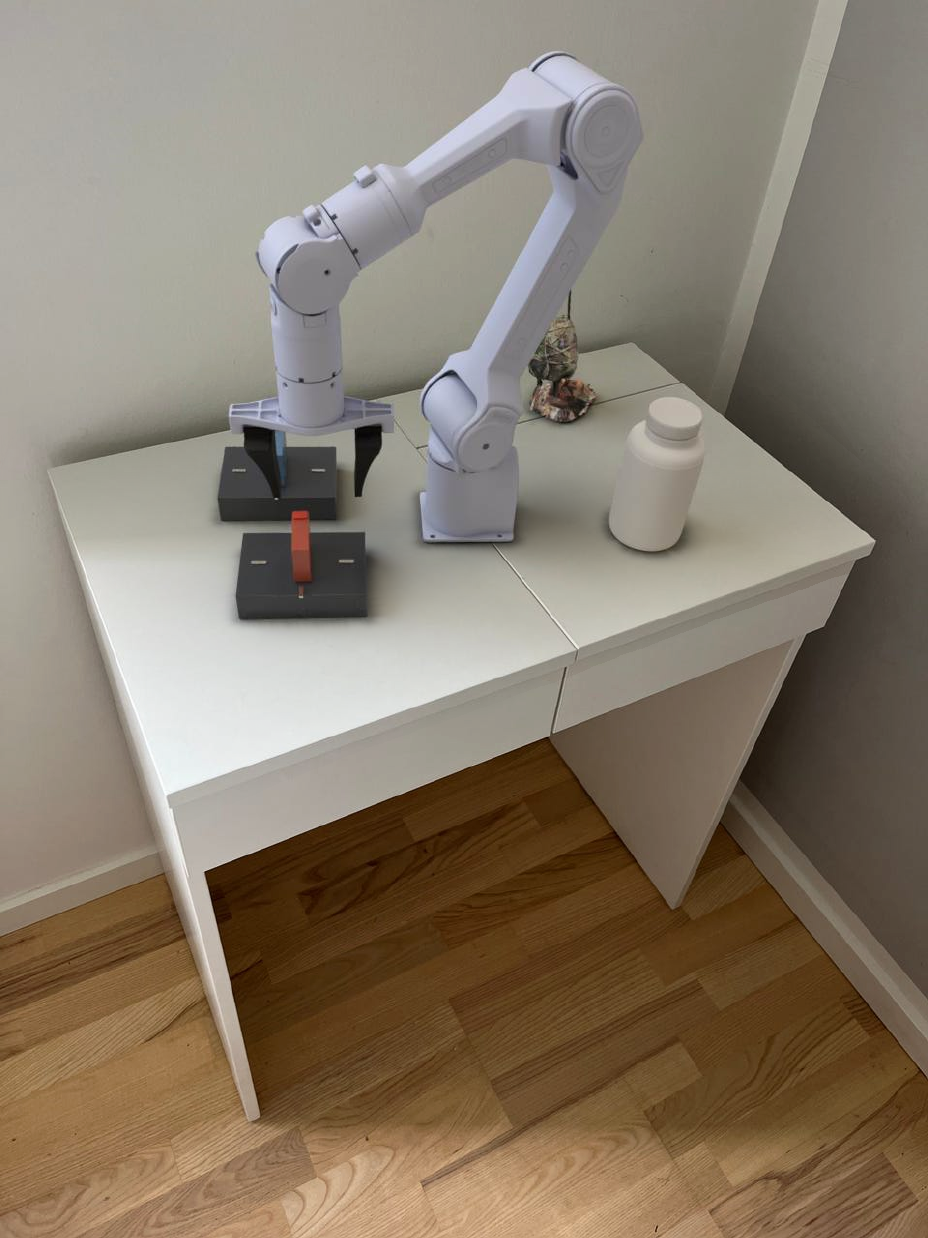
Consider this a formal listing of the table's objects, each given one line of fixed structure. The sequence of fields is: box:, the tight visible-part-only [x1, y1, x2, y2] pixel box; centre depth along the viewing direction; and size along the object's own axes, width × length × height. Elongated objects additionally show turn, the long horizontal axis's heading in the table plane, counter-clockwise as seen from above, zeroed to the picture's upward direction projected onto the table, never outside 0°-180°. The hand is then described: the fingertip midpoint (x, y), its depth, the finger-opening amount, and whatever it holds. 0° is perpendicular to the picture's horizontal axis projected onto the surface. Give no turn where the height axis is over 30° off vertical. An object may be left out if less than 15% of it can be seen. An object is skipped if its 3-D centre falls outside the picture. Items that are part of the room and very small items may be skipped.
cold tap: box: [275, 430, 288, 487], centre depth 99 cm, size 6×2×4 cm, turn 5°
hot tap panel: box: [235, 531, 368, 620], centre depth 92 cm, size 12×10×3 cm
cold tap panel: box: [217, 446, 338, 521], centre depth 102 cm, size 12×10×3 cm
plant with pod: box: [527, 290, 597, 423], centre depth 111 cm, size 8×11×20 cm
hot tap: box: [291, 511, 311, 582], centre depth 89 cm, size 6×2×4 cm, turn 7°
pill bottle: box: [608, 396, 707, 552], centre depth 97 cm, size 8×8×15 cm
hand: (317, 491), depth 91 cm, fingers open, 7 cm apart
